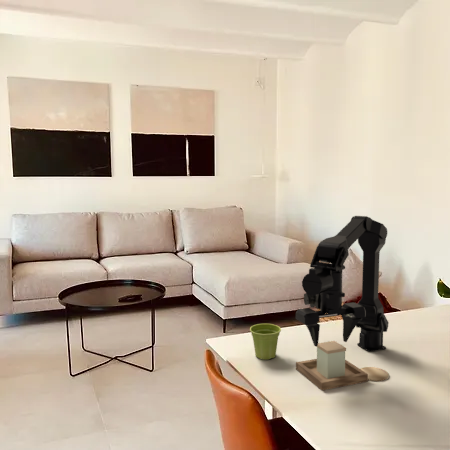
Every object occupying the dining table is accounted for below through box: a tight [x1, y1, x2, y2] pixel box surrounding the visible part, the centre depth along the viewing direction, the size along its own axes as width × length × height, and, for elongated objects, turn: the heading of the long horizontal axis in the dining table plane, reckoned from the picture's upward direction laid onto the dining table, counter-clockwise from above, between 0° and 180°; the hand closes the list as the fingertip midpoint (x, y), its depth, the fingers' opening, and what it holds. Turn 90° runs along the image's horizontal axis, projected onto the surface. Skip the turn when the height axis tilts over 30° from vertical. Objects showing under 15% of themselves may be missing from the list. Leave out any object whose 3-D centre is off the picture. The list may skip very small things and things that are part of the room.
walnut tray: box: [295, 358, 369, 391], centre depth 132 cm, size 14×14×2 cm
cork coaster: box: [360, 366, 390, 382], centre depth 132 cm, size 8×8×1 cm
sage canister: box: [316, 340, 347, 379], centre depth 132 cm, size 6×6×8 cm
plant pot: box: [249, 323, 282, 361], centre depth 146 cm, size 9×9×9 cm
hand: (330, 343), depth 131 cm, fingers open, 9 cm apart
